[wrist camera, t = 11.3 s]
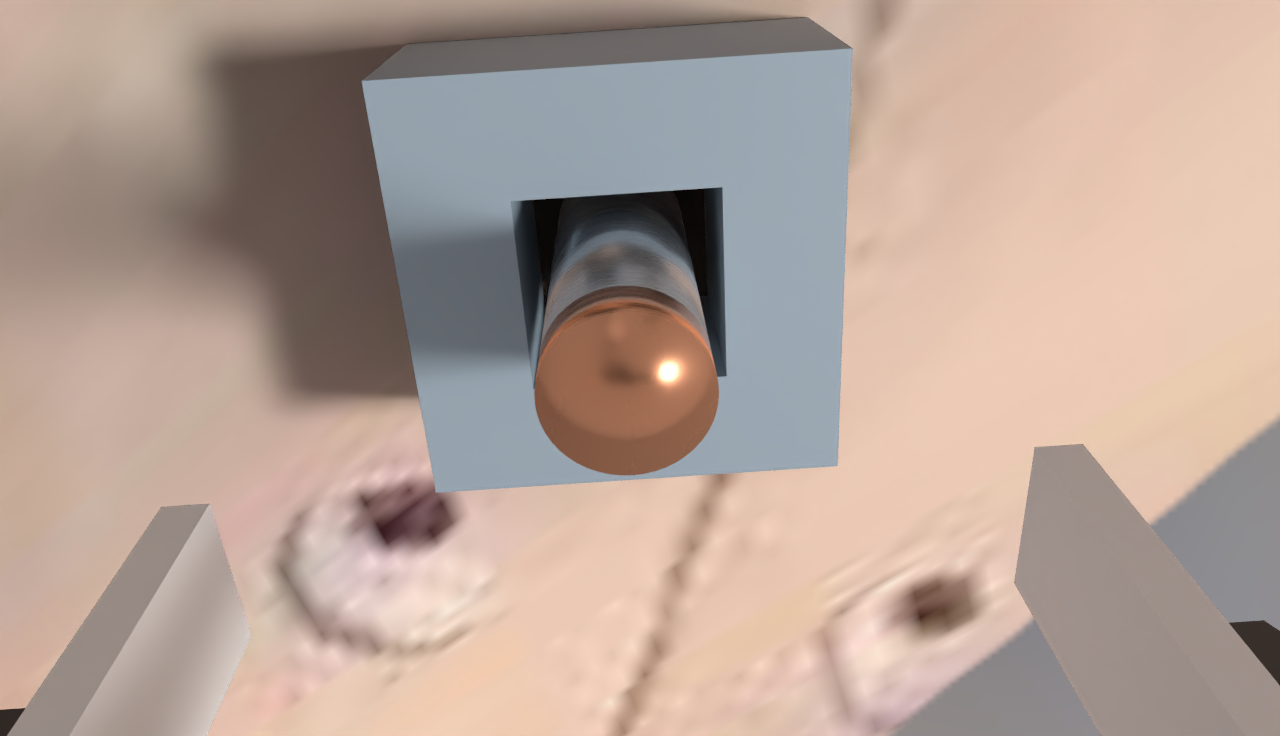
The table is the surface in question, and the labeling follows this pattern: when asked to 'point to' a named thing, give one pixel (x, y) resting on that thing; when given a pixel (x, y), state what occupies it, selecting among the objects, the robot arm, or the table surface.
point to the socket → (605, 165)
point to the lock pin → (624, 337)
